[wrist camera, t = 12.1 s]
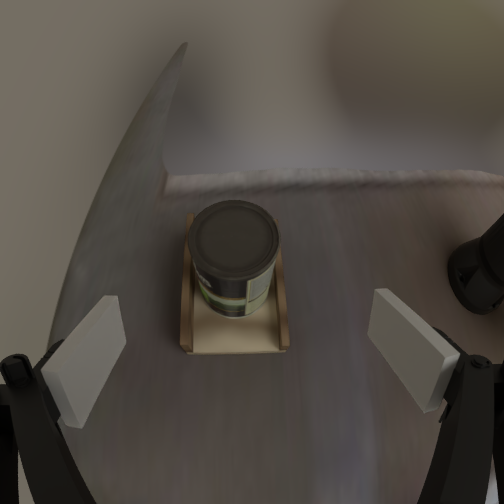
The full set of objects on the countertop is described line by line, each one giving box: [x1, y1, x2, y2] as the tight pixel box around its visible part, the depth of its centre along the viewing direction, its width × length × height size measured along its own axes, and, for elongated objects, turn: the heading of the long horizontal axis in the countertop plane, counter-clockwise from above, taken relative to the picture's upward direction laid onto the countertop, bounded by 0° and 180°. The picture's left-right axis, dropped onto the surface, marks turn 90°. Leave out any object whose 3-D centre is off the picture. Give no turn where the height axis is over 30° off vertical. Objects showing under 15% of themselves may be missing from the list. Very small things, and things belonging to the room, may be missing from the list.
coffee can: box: [187, 200, 281, 319], centre depth 40 cm, size 10×10×14 cm
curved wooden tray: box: [180, 213, 290, 355], centre depth 45 cm, size 20×14×6 cm
